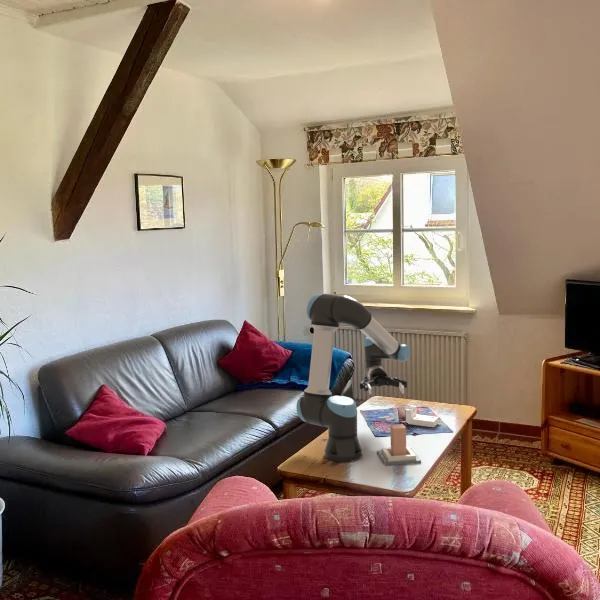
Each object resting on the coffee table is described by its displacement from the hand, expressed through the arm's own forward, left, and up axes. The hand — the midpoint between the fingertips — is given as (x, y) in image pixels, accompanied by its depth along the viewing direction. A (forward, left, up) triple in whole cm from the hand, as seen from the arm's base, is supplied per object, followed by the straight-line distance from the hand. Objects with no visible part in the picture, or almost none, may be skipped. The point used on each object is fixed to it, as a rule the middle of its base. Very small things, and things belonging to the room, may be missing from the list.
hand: (386, 391), depth 275 cm
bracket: (+22, +24, -24) cm, 40 cm away
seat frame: (+1, -14, -24) cm, 27 cm away
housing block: (+1, -14, -23) cm, 26 cm away
